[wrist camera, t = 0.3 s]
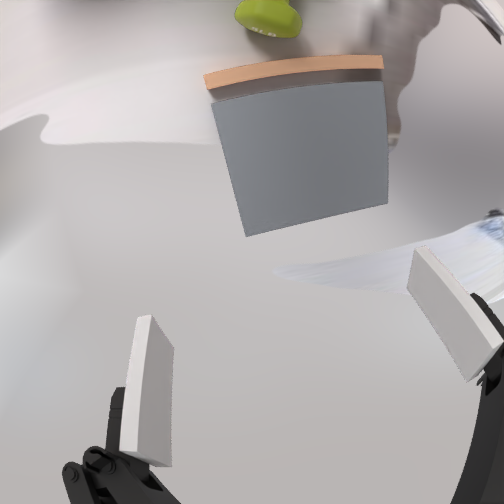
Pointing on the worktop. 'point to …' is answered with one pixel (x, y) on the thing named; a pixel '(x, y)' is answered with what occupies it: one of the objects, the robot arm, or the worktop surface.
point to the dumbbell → (269, 17)
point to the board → (305, 152)
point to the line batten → (291, 68)
